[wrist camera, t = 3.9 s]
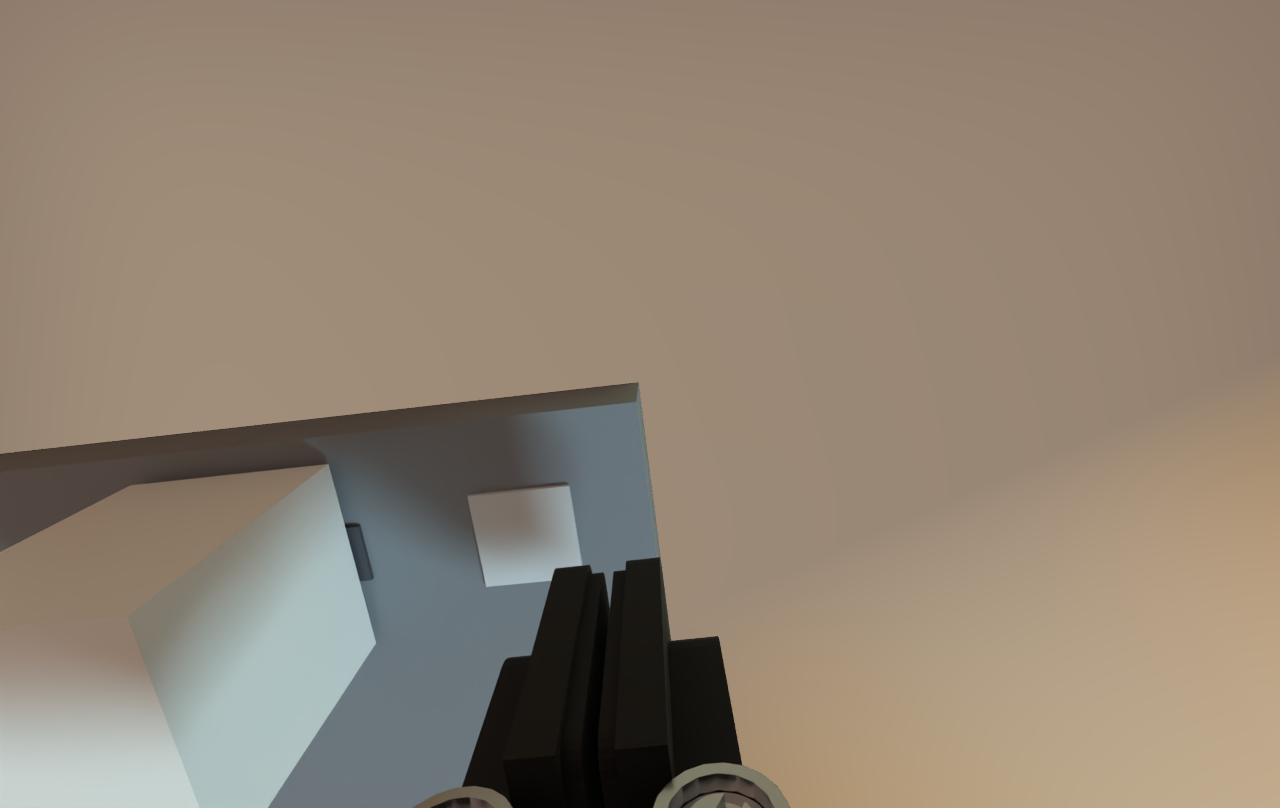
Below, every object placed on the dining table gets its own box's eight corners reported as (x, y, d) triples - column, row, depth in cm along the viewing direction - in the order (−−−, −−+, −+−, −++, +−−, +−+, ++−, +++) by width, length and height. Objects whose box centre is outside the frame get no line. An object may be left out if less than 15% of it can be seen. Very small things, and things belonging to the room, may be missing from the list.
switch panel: (638, 382, 14) (636, 403, 12) (702, 889, 18) (706, 954, 16) (-397, 498, 15) (-516, 530, 14) (-133, 945, 19) (-202, 1010, 17)
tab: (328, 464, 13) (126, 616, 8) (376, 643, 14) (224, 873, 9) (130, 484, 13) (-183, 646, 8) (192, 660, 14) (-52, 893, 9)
